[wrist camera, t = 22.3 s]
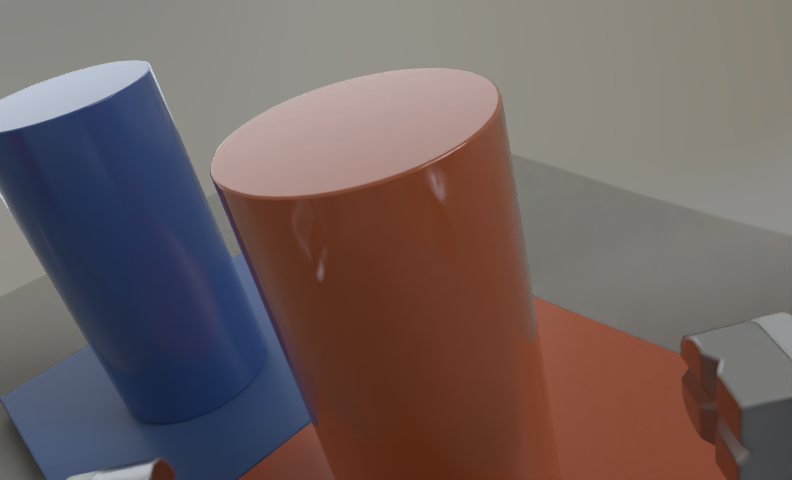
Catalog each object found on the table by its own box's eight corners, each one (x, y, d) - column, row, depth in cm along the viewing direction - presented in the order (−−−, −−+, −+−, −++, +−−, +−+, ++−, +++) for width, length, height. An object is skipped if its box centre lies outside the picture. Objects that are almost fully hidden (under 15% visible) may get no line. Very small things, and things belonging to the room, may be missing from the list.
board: (832, 440, 18) (836, 414, 18) (405, 1093, 11) (389, 1078, 10) (319, 225, 36) (313, 208, 35) (11, 415, 28) (-2, 398, 27)
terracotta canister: (609, 487, 18) (565, 79, 12) (464, 655, 15) (324, 231, 9) (455, 397, 22) (369, 58, 16) (319, 518, 19) (159, 161, 13)
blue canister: (295, 354, 25) (180, 66, 20) (161, 450, 23) (-14, 148, 17) (224, 305, 29) (111, 54, 24) (103, 382, 27) (-56, 119, 21)
